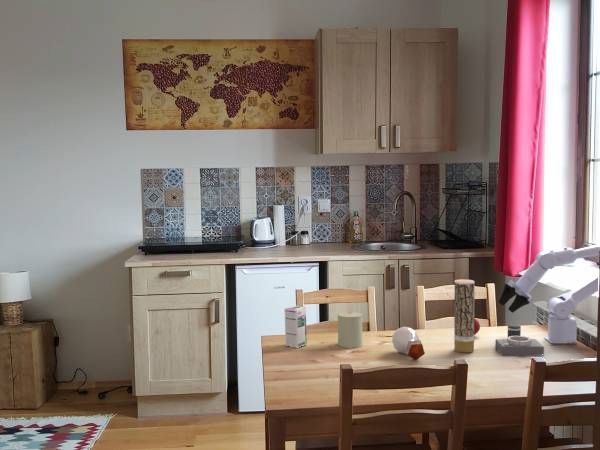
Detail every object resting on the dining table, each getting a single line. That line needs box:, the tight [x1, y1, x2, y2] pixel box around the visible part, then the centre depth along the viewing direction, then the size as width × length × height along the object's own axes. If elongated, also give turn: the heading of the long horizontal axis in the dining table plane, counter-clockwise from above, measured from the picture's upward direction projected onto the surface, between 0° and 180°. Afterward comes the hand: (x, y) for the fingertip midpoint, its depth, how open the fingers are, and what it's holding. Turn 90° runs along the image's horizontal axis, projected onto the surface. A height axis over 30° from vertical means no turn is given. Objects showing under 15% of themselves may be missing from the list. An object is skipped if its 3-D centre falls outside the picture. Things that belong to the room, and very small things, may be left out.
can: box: [337, 311, 363, 349], centre depth 256 cm, size 9×9×12 cm
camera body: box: [495, 335, 545, 356], centre depth 244 cm, size 14×10×4 cm
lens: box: [507, 324, 522, 337], centre depth 258 cm, size 5×5×6 cm
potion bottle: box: [391, 326, 425, 361], centre depth 242 cm, size 9×10×15 cm
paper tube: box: [453, 278, 475, 354], centre depth 245 cm, size 7×7×25 cm
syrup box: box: [284, 305, 308, 349], centre depth 256 cm, size 6×6×14 cm
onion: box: [474, 317, 481, 336], centre depth 265 cm, size 6×6×8 cm
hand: (505, 307), depth 257 cm, fingers open, 7 cm apart
